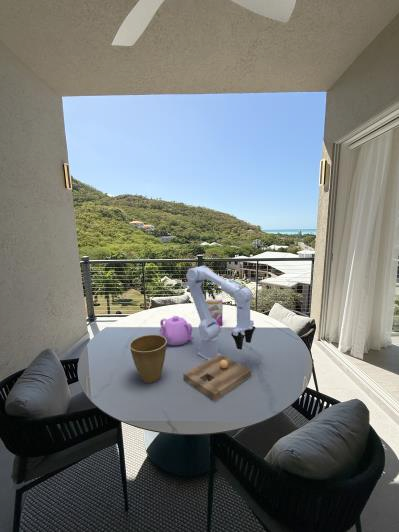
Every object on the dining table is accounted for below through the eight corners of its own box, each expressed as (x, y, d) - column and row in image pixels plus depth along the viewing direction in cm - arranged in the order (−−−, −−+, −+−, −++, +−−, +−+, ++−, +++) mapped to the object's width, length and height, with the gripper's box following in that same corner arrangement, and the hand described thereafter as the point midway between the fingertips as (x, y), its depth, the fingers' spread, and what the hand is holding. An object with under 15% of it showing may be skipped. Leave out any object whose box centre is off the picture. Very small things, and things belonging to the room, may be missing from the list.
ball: (218, 367, 108) (218, 360, 108) (223, 364, 111) (223, 357, 110) (224, 371, 106) (224, 363, 105) (229, 367, 108) (229, 360, 108)
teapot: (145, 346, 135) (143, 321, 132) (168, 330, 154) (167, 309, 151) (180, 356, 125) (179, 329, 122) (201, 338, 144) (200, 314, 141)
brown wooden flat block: (183, 380, 105) (183, 373, 105) (219, 360, 120) (219, 354, 120) (214, 401, 92) (214, 394, 92) (251, 376, 107) (251, 370, 107)
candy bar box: (204, 327, 159) (204, 301, 156) (204, 323, 164) (204, 299, 161) (222, 326, 159) (222, 301, 156) (221, 323, 164) (221, 298, 161)
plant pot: (152, 364, 118) (150, 331, 115) (175, 376, 108) (174, 340, 106) (124, 379, 106) (122, 343, 104) (147, 394, 97) (145, 355, 94)
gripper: (243, 322, 102) (243, 354, 104) (259, 312, 113) (259, 341, 115) (228, 319, 106) (228, 350, 108) (245, 309, 117) (245, 337, 119)
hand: (243, 345), depth 112 cm, fingers open, 7 cm apart
